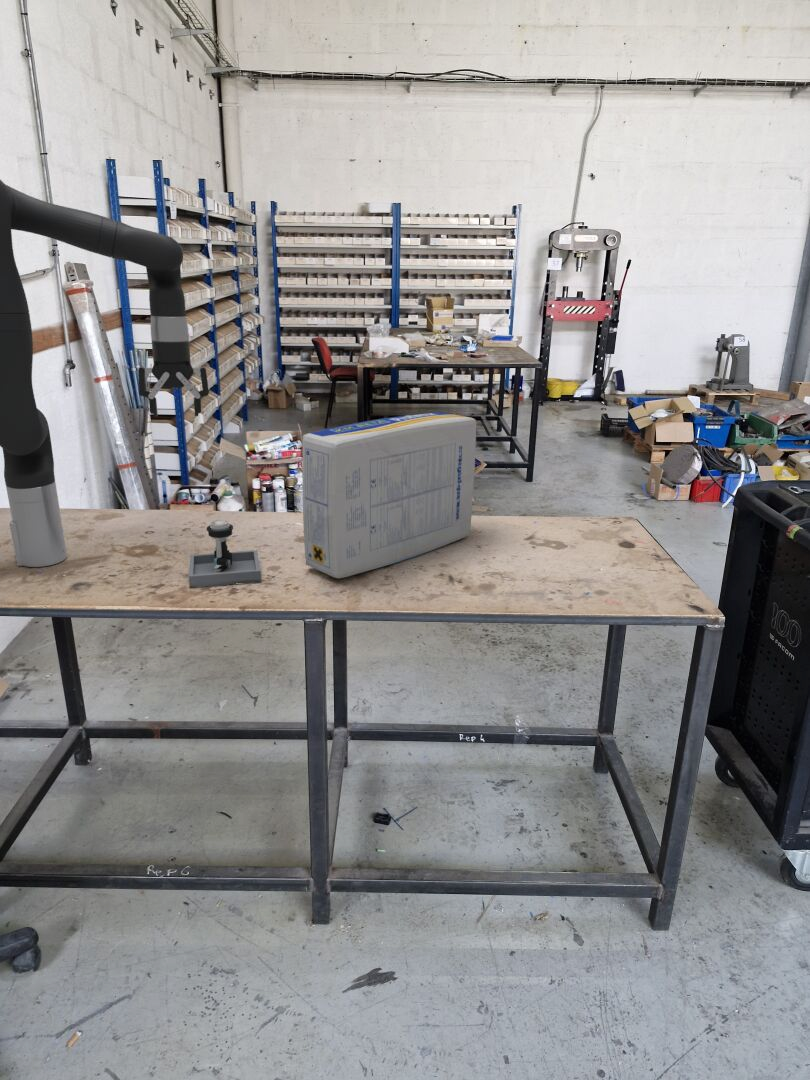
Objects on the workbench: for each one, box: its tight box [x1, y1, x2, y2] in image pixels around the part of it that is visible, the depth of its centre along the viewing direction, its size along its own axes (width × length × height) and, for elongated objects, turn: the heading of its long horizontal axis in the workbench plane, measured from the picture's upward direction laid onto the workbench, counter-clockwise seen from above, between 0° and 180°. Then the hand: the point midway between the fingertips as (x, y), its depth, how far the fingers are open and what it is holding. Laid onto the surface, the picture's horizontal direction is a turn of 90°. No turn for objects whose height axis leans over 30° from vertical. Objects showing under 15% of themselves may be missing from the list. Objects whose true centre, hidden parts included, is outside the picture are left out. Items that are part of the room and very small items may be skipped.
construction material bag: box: [301, 411, 477, 579], centre depth 156 cm, size 43×12×30 cm, turn 135°
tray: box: [188, 549, 262, 589], centre depth 148 cm, size 14×12×2 cm
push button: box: [206, 519, 234, 573], centre depth 148 cm, size 7×5×10 cm
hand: (176, 415), depth 155 cm, fingers open, 8 cm apart
